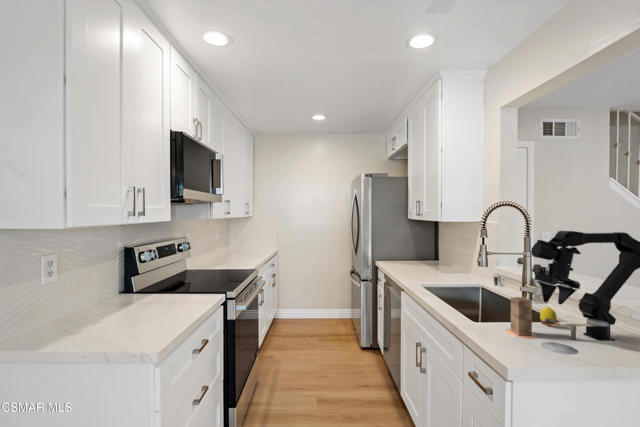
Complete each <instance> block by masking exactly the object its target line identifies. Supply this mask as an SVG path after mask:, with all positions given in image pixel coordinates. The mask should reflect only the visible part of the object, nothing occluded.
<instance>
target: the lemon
mask: <svg viewBox="0 0 640 427" xmlns="http://www.w3.org/2000/svg"><path fill="white" fill-rule="evenodd" d="M539 318H540V321H541V320H545V319H547V318H548V319H554V320H555V322H557V314H556V312H555V310H554V309H553V308H551V307H550V306H547V307H544V308H542V309H541V310H540V313H539ZM547 327H548V328H549V327H550V326H547Z"/></svg>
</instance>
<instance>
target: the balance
mask: <svg viewBox="0 0 640 427" xmlns="http://www.w3.org/2000/svg"><path fill="white" fill-rule="evenodd" d="M540 324H541V325H544V326H547V327H548V326H549V327H553V328H554V327H556V328H558V327H570V340H572V341H577V327H586V326H603V327H607V326H609V323H607V322H604V321H600V320H591V319H590V320H587V319H586V323H560V322H558V321H556V322H555V320H554V319H548V318H547V319H545V320H541V319H540Z"/></svg>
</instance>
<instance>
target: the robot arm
mask: <svg viewBox="0 0 640 427" xmlns="http://www.w3.org/2000/svg"><path fill="white" fill-rule="evenodd" d="M612 243H613V244H614V247H615V248H616V250H618V251H619V252H620V253H619V255H618V264H617V265H616V266H615V267H614V268H613V269H612V270H611V272H610V273H609V274H608V276H607V277H606V278H605V280H604V281H603V282H602V283H601V284H600V286H599V287H597V290H595V291H594V292H592V293H589V292H585V293H584V294H583V296H582V297H581V298H580V299H579V300H578V301H579V303H578V305H577V306H578V309H579V311H580V312H581V314H582V316H583V318H586V321H587V320H590V319H591V320H600V321H604V322H607V323H609V326H607V327H603V326H585V332H583V333H582V334H583V335H584V336H587V337H589V338H591V339H594V340H598V341H615V338H613V337H611V325H615V323H616V322H617V318H616V317H615V316H614V315H612V314H611V313H610V311H611V307H612V306H611V305H612V303H611V302H612V299H613V298H614V297H615V296H616V294H617V293H618V292H619V291H620V290H621V289H622V287H623V286H624V285H625V283H627V281H628V279H630V277H631V276H632V275H633V274H634V272H636V270H639V269H640V241H639V240H637V239H635V238H633V236H632V235H630V234H629V233H626V232H622V231H621V232H620V231H613V232H581V231H574V230H558V231H557V232H556V234H555V236H554V237H552V238H551V239H550V240H548V241H545V240H542V239H537V241H536V242H535V243H534V244H533V246H532V247H531V255H532V257H534V258H537V259H543V260H547V261H552V262H549V263H548V264H547V265H548V266H542V265H541V264H533V266H532V269H531V272H532V273H533V274H534V280H535V281H536V283H537V284H539V286H540V288H541V292H542V299H543V300H542V301H543V302H544V303H548V302H549V300H550V299H551V297H552V296H553V294H554V292H555V291H556V289H557V288H558V299H557V300H558V302H557V304H558V305H563V304H564V303H565V302H566V301H567V300H568V298H570V297H571V296H572V295H573V294H574V293H575V292H577V290H580V288H581V283H580V282H579V281H578V280H573V279H571V278H569V277H570V272H573V270H574V268H573V267H572V264H573V260H574V254H575V255H581V251H580V250H578V248H577V246H578V247H580V246H584V245H586V244H612Z"/></svg>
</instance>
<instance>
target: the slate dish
mask: <svg viewBox="0 0 640 427" xmlns="http://www.w3.org/2000/svg"><path fill="white" fill-rule="evenodd" d="M540 346H541V347H542V348H543V349H545V350H547V351H550V352H554V353H557V354H561V355H562V354H563V355H577V354H579V350H578V349H576V347H573V346H571V345H568V344H563V343H561V342H553V341H551V342H550V341H543V342H541V343H540Z"/></svg>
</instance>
